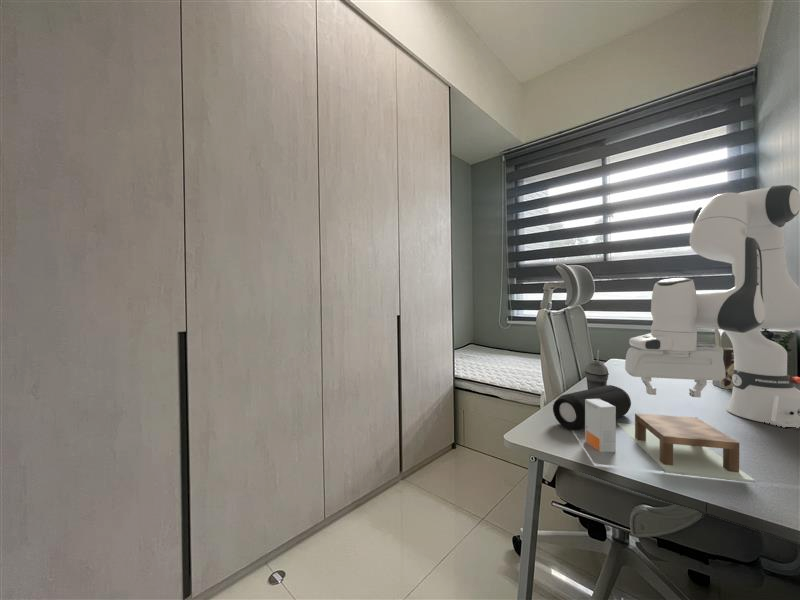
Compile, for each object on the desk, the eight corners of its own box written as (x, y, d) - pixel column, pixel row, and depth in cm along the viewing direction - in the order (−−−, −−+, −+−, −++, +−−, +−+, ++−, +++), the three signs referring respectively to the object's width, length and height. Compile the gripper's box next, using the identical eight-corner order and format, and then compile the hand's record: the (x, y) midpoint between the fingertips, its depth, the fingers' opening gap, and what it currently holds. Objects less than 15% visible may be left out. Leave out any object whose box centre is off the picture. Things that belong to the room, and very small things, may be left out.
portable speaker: (580, 436, 88) (580, 401, 87) (550, 423, 97) (550, 391, 96) (634, 420, 98) (634, 388, 98) (602, 409, 107) (602, 380, 107)
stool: (696, 417, 82) (739, 442, 68) (696, 442, 82) (739, 472, 68) (635, 413, 85) (663, 436, 72) (635, 437, 85) (663, 464, 72)
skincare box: (584, 443, 84) (584, 398, 83) (599, 442, 84) (599, 398, 84) (600, 454, 78) (600, 407, 77) (616, 453, 78) (616, 406, 78)
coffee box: (724, 389, 126) (725, 349, 126) (711, 384, 133) (712, 346, 132) (751, 389, 125) (751, 349, 125) (736, 385, 131) (737, 347, 131)
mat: (679, 429, 91) (679, 428, 91) (755, 482, 66) (755, 480, 66) (616, 424, 95) (616, 423, 95) (665, 472, 70) (665, 470, 70)
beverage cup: (601, 401, 114) (601, 347, 114) (613, 409, 107) (613, 351, 107) (581, 401, 115) (580, 347, 115) (591, 408, 108) (591, 351, 107)
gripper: (713, 340, 80) (713, 394, 80) (622, 338, 85) (622, 389, 86) (732, 344, 74) (732, 402, 74) (633, 342, 79) (633, 396, 80)
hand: (672, 395), depth 80 cm, fingers open, 8 cm apart
